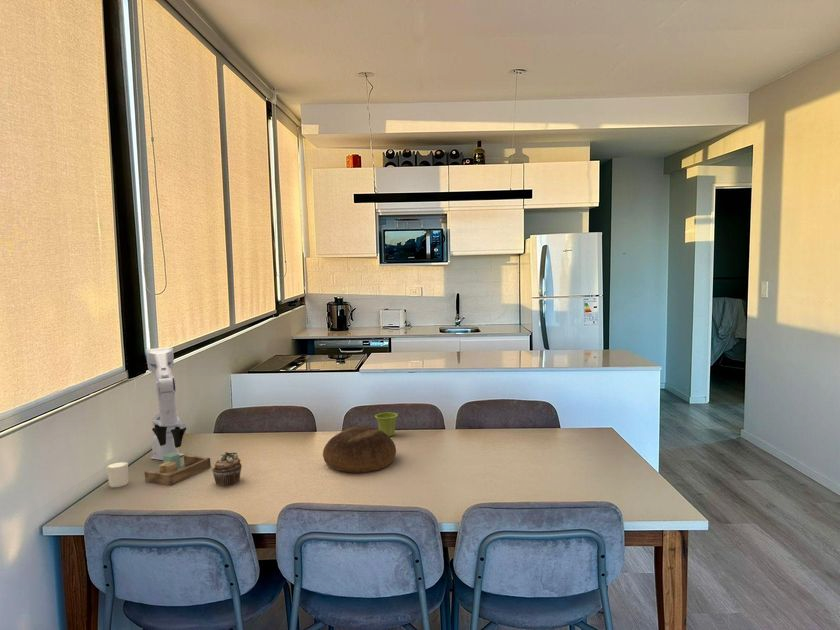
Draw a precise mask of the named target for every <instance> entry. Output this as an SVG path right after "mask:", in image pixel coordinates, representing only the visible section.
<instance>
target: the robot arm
mask: <svg viewBox="0 0 840 630" xmlns="http://www.w3.org/2000/svg"><path fill="white" fill-rule="evenodd" d="M145 351H146V352H145V353H146V363H147V369H148V371H149V372H151V373H153V374H154V378H155V380H156V381H155V389H156V390H155V391H156V394H157V401H158V411H157V412H156V413H155V414H154V415H153V416H152V420H151V421H152V428H151V430H152V432H153V435H154V436H153V437H152V441H151V447H152V450H151V451H152V456H151V458H150V459H152V460H160V461H163V456H164V455H167V454H170V453H177V454H179V455H180V457H182V456H184V455H185V453H180V452H179V448H180V447H181V446H182V441H183V439H184V438H183V437H184V434H185V433H186V431H187V427H186V422H183V421H181V419H180V414H179V413H178V411H177V404H176V403H177V402H176V390H177V385H176V378H175V377H174V376H173V372H172V369H173V368H174V349H173V347H172V346H168V347H159V348H150V349H149V348H147V349H146V350H145Z"/></svg>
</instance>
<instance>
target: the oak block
mask: <svg viewBox="0 0 840 630" xmlns="http://www.w3.org/2000/svg"><path fill="white" fill-rule="evenodd" d="M158 467H159V469H158V470H159V473H165V474H172V473H174V472H176V471H178V468H177V465H176V463H174V462H166V463H162V464H159V465H158Z"/></svg>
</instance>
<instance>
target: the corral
mask: <svg viewBox="0 0 840 630" xmlns="http://www.w3.org/2000/svg"><path fill="white" fill-rule="evenodd" d="M183 463H184V466H186V467H184V468H181V469H179V470H177V471H176V472H174V473H172V474H165V473H160V472H157V471H150V470H146V471H144V482H146V483H153V484H158V485H159V484H161V485H166V486H173V485H176V484H177V483H179V482H182V481H184V480H186V479H188V478H191V477H193V476H195V475H198V474H199V473H201V472H202V473H203V472H204V471H206V470H209V469H210V468H211V467H212V464H211V458H210V457H203V456H198V455H197V456H195V455H188V454H184V455H183Z"/></svg>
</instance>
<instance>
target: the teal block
mask: <svg viewBox="0 0 840 630" xmlns="http://www.w3.org/2000/svg"><path fill="white" fill-rule="evenodd" d="M180 457H181V456H180V455H179V454H177V453H170V454H167V455H164V456H163V460H162V461H163V463H166V462H174V463H176V465H177V469H178V468H180V467H181V458H180ZM163 463H162V464H163Z"/></svg>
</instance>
